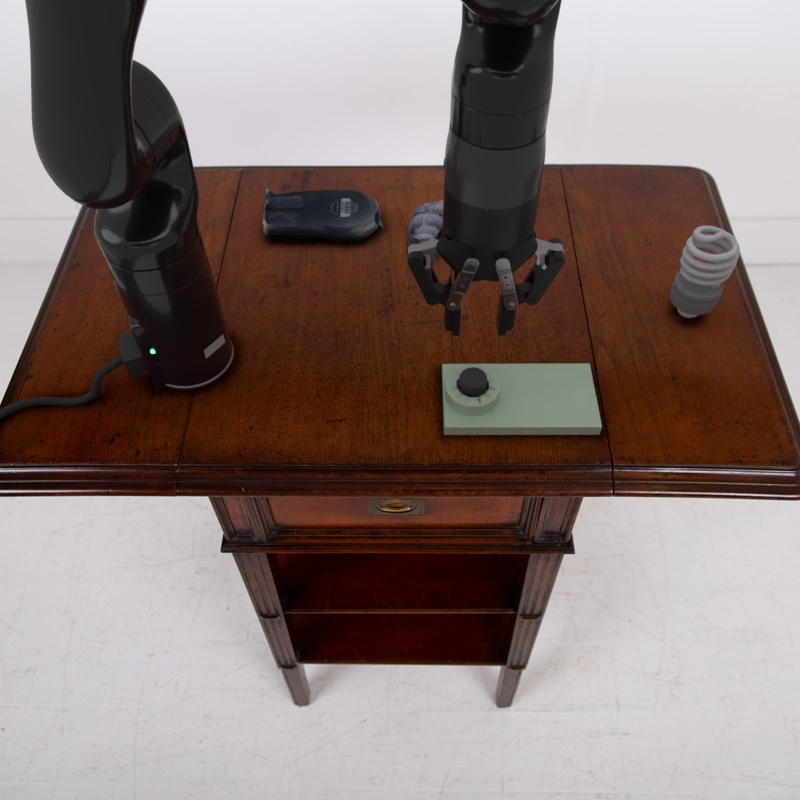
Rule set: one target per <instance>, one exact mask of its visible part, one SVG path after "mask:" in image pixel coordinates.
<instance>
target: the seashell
mask: <svg viewBox="0 0 800 800" xmlns="http://www.w3.org/2000/svg"><path fill="white" fill-rule="evenodd" d="M442 225H443V199H440V200H437V201H428V202H425V203H422V204H421V205H418V207H416V208H415V209H414V210H413V213H412V219H411V221H410V222H409V223H408V225H407V234H408V237H409V240H410V239H412V238H417V239H419V240H420V241H421V242H422V243H423V242H427V241H430V240H434V239H436V236H437V234H438V232H439V231H440V229H441V228H442Z"/></svg>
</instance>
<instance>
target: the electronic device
mask: <svg viewBox="0 0 800 800" xmlns="http://www.w3.org/2000/svg"><path fill="white" fill-rule="evenodd" d="M262 226H263V228H262V231H263V235H264V236H263V238H265V239H266V240H270V241H271V240H312V239H313V240H314V239H315V240H318V239H323V240H332V241H336V242H348V243H349V242H351V243H352V242H356V241H359V240H364V239H365V238H368V237H369V236H371V235H372V234H373V233H374V232H376V230H377V229H378V228H379V227H380V226H381V227H382V228H383V222H382V214H381V210H380V204H379V203H378V201H377V199H374V198H373V197H372V196H371V195H369V194H367V193H365V192H363V191H360V190H354V189H318V190H317V189H316V190H301V191H290V192H282V193H274V192H273V190H270V189H269V188H266V189H265V196H264V204H263V210H262Z"/></svg>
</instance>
